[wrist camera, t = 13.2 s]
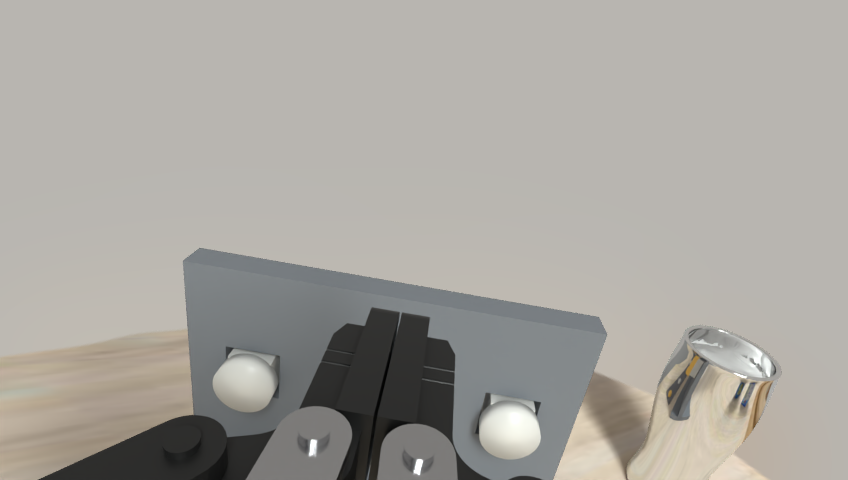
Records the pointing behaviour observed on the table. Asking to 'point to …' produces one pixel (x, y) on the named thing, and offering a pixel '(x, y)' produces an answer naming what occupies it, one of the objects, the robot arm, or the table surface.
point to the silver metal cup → (704, 405)
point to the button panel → (449, 320)
